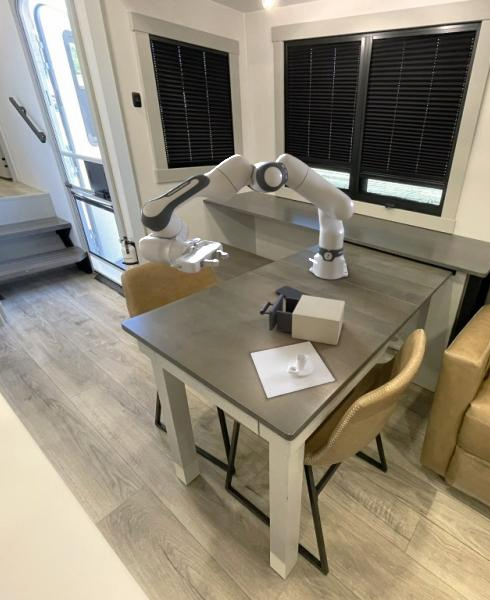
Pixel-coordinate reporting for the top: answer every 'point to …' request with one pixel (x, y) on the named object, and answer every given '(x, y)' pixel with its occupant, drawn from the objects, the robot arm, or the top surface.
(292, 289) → the phone
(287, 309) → the drawer
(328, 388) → the top surface
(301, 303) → the cabinet
